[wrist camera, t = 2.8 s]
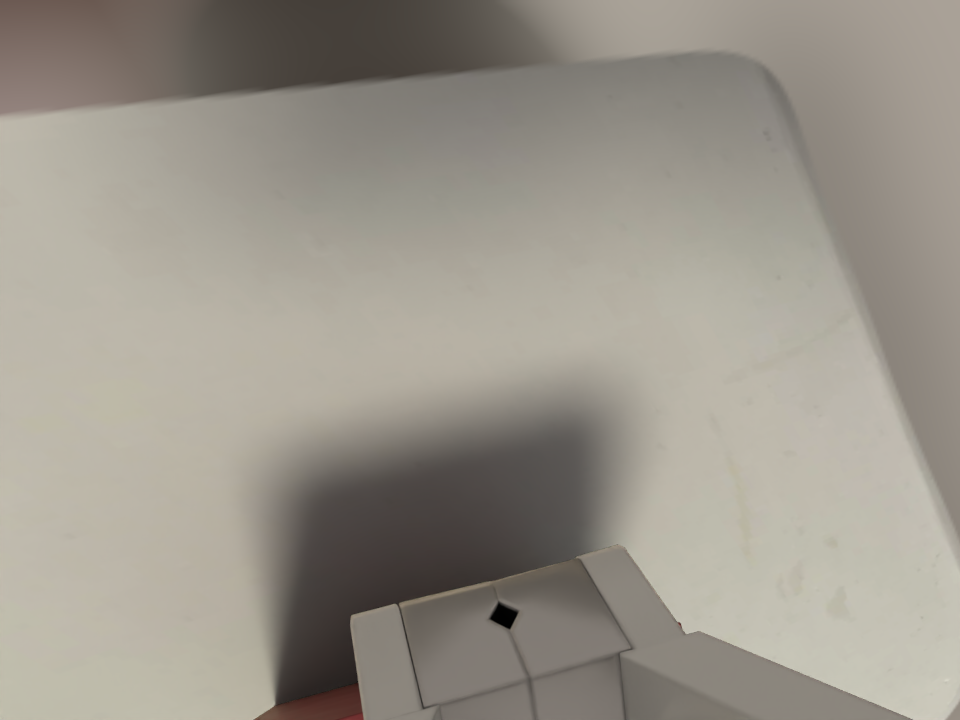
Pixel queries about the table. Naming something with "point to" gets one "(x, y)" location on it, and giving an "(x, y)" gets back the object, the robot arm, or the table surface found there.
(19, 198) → the table surface
